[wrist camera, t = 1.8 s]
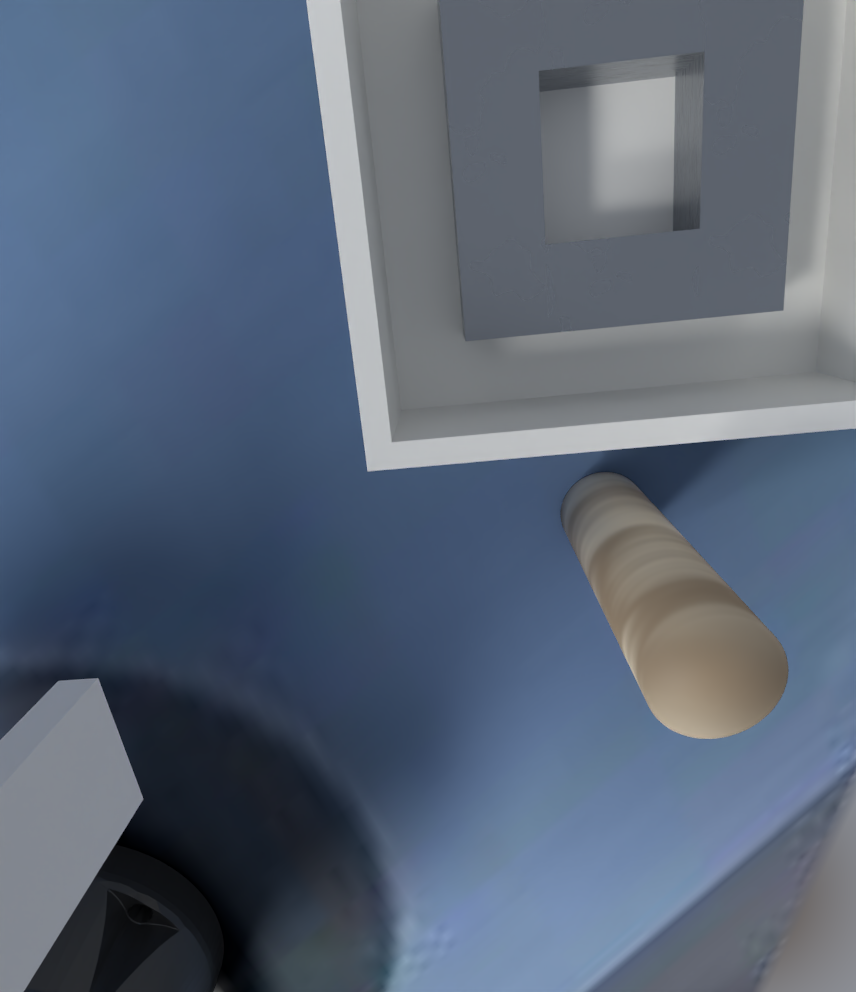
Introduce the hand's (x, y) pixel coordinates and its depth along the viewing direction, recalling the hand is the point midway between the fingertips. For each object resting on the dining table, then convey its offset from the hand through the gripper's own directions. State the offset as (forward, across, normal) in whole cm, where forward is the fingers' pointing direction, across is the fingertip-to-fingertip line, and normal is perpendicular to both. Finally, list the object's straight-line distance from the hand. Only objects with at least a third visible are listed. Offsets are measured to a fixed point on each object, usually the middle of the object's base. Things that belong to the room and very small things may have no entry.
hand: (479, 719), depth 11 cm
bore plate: (+21, -5, -9) cm, 24 cm away
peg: (+21, -5, +6) cm, 23 cm away
